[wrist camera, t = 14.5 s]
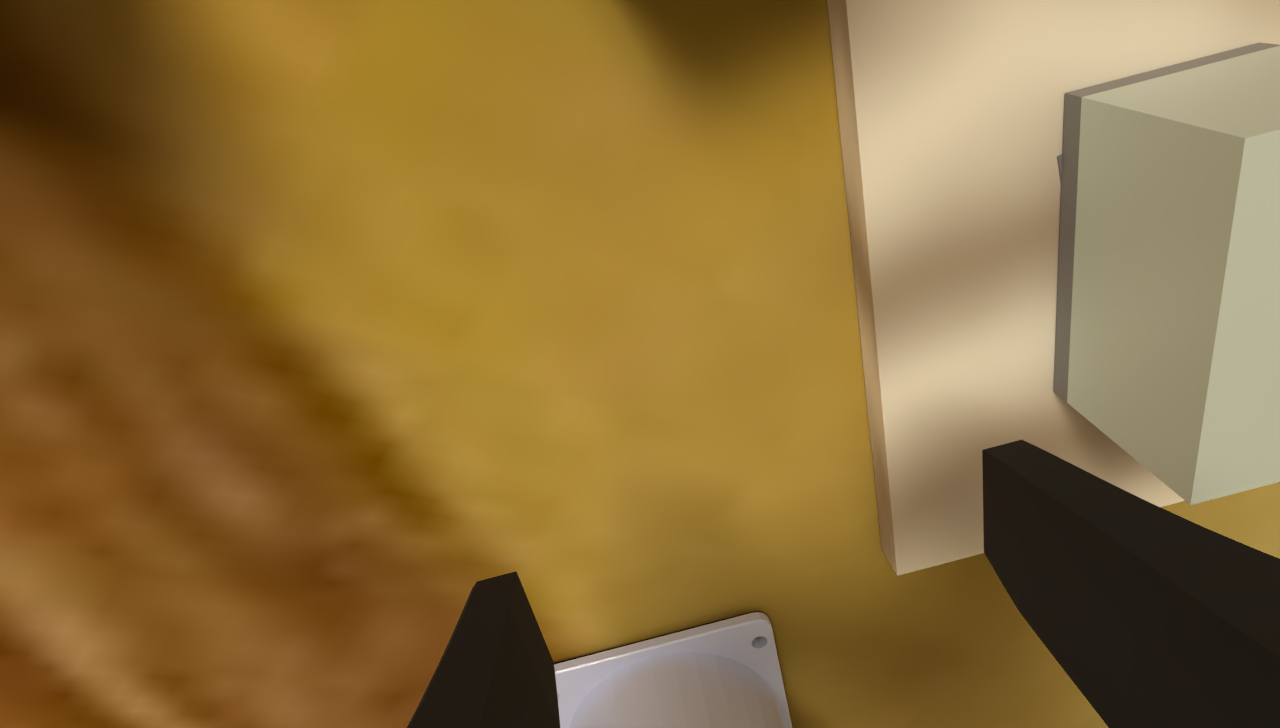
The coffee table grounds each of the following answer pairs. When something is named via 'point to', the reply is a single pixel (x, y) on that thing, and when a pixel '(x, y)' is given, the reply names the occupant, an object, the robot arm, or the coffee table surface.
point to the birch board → (980, 231)
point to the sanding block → (1176, 269)
